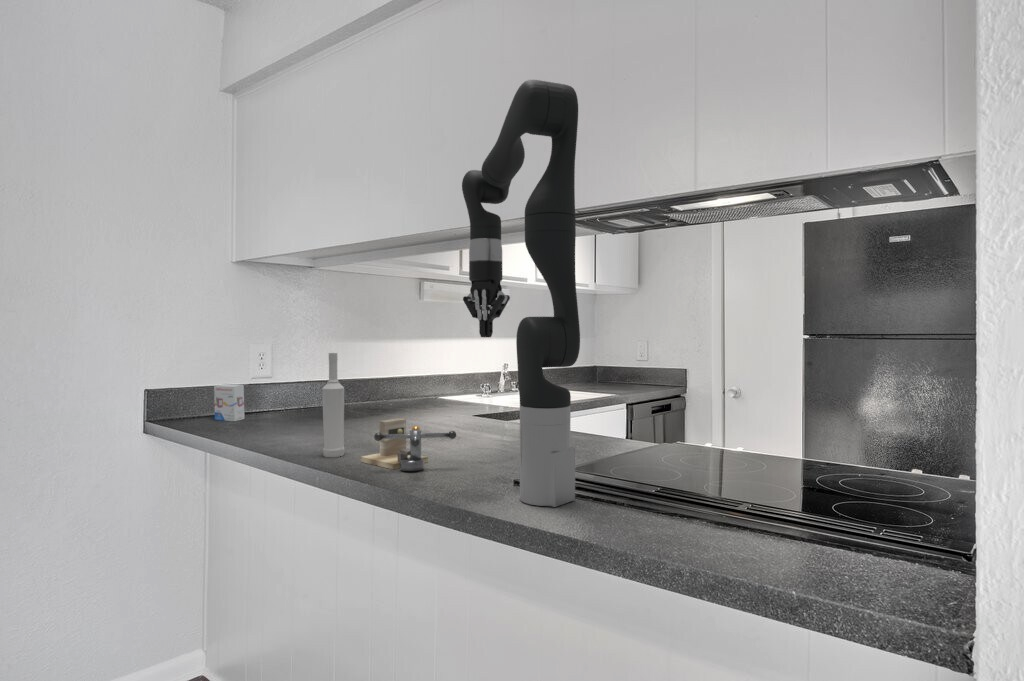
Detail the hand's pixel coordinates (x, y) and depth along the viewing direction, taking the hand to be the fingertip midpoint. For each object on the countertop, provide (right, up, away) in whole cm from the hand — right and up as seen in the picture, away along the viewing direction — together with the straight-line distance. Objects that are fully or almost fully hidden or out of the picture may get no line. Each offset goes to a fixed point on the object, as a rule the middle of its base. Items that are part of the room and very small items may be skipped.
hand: (485, 337), depth 143 cm
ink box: (-89, -28, +69) cm, 116 cm away
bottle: (-38, -29, +11) cm, 49 cm away
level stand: (-21, -29, +3) cm, 36 cm away
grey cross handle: (-15, -29, -5) cm, 33 cm away
